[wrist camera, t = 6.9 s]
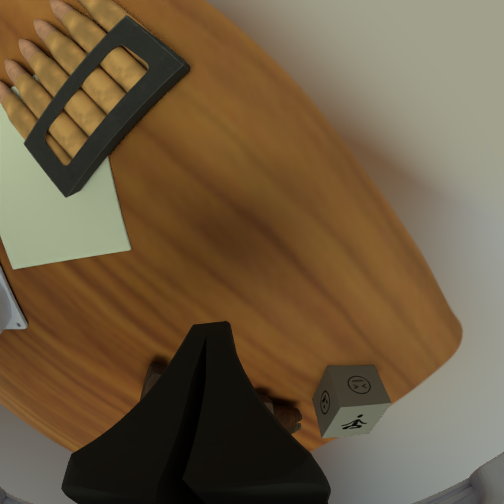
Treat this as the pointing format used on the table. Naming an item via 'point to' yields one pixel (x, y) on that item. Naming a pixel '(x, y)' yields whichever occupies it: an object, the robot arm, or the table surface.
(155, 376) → the bolt
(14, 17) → the table surface
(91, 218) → the mat
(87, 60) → the ammunition clip
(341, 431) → the dice cube
